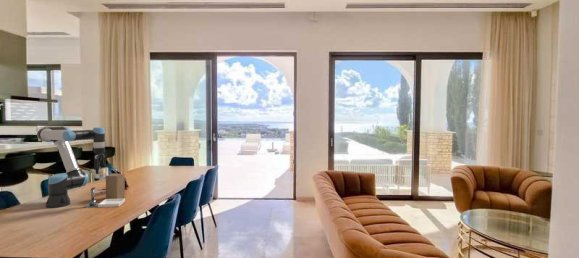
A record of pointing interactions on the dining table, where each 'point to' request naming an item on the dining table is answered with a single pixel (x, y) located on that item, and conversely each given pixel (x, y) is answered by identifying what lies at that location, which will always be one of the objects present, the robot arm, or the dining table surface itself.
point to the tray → (111, 202)
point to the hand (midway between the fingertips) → (100, 177)
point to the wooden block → (115, 186)
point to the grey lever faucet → (92, 200)
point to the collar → (102, 172)
